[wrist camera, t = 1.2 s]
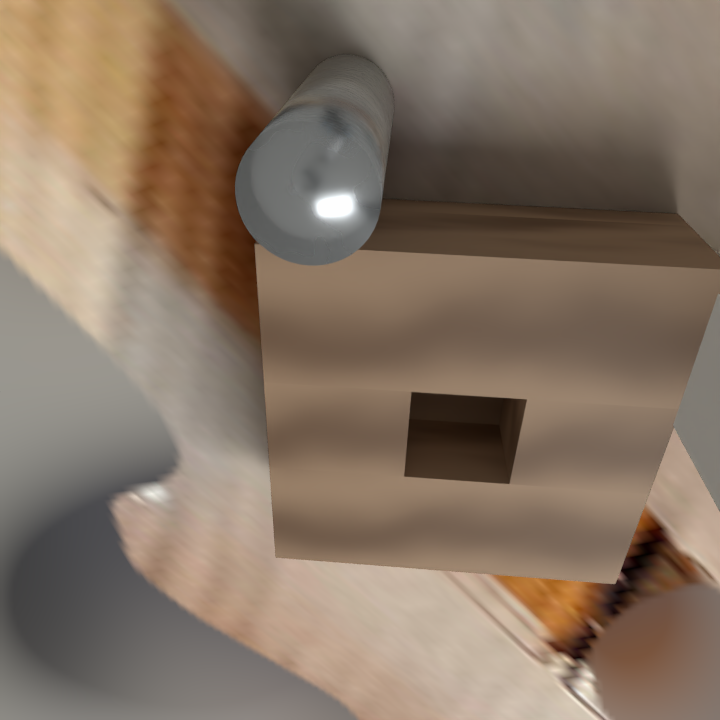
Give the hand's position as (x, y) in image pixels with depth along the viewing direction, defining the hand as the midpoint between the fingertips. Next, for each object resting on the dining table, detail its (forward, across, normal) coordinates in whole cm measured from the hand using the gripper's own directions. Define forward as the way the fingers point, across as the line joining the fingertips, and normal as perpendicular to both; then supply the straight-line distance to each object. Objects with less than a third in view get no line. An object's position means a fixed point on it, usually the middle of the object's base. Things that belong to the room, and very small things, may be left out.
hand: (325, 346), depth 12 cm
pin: (+19, -1, 0) cm, 19 cm away
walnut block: (+19, +4, -13) cm, 24 cm away
